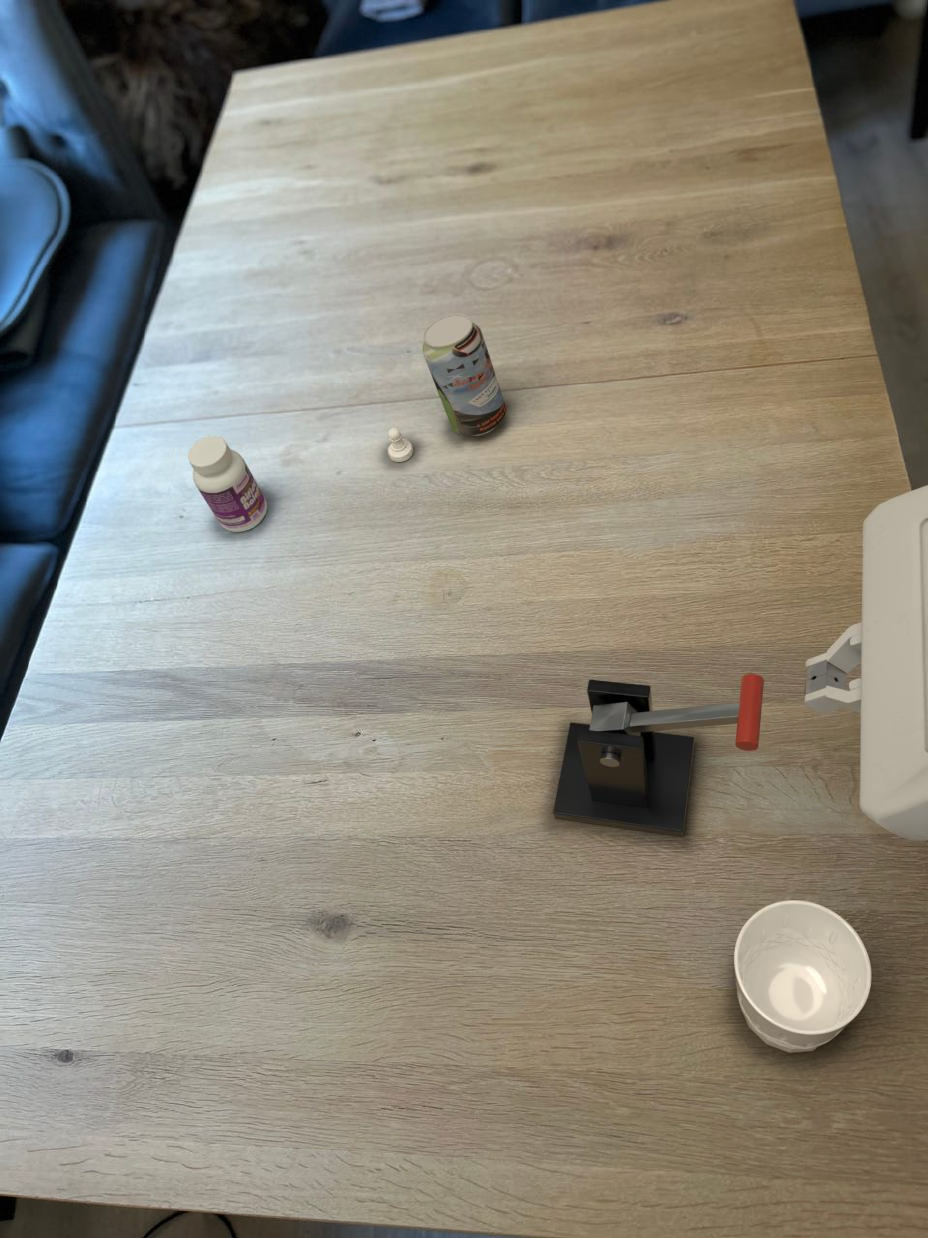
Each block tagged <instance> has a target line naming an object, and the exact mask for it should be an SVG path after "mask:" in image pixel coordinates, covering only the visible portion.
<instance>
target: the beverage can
mask: <svg viewBox="0 0 928 1238" xmlns="http://www.w3.org/2000/svg"><path fill="white" fill-rule="evenodd" d="M422 354H423V358H424V360H425V362H426V365H427V368H428V370H429V373H430V375H431V378H432V380H433V383H434V385H435V388H436V391H437V393H438V396H439V399H440V402H441V404H442V407H443V409H444V411H445V414H446V416H447V420H448V422H449V425H450V427H451V429H452V430H453V431H454V432H455V433H456V434H458V435H462V436H466V437H478V436H479V437H480V436H484V435H486V434H488V433H490V432H492V431H493V430H495V429H496V428H497V427H498V426H499V425H500V424H501V423H502V422H503V420H504V419H505V417H506V414H507V410H508V409H507V404H506V402H505V399H504V395H503V392H502V390H501V387H500V383H499V380H498V377H497V374H496V371H495V368H494V365H493V361H492V359H491V356H490V353H489V350H488V347H487V344H486V341H485V338H484V335H483V332H482V330H481V328H480V327H479V325H477V324H476V323H474V322H473V320H472V319H471V318H470V317H469V316H468V315H465V314H461V313H460V314H458V313H457V314H449V315H446V316H443V317H440V318H439V319H437V320H434V321H433V322H432V323H431V324H429V326H428V327H427V328H426V329H425V331H424V334H423V343H422Z"/></svg>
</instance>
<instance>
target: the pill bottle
mask: <svg viewBox="0 0 928 1238" xmlns="http://www.w3.org/2000/svg"><path fill="white" fill-rule="evenodd" d="M187 460H188V463H189V464H190V466H191V468H192V469H193V471H192V480H193V482H194V485H195V487H196V488H197V490H198V492H199V493H200V494H201V497H202V498H203V499H204V501H205V502H206V504H207V506H208V507H209V508H210V510H211V512H212V514H213V515H214V516H215V518H216V520H217V521H218V523H219V524H220V525H221V527H222V528H224V529H225V530H227V531H229V532H233V533H241V532H246V531H250V530H252V529H253V528H255V527H256V526H258V524H260V522H261V521H262V520H263V519H264V518H265V516H266V514H267V511H268V501H267V499H266V496H265V495H264V492H263V491H262V490H261V488H260V485H259V484H258V482H257V480H256V478H255V477H254V475H253V473H252V471H251V470H250V469H249V466H248V464H247V463H246V461H245V459H244V457H243V456H242V455H241V454H240V453H239V452H238V451H236V450H234V449H231V448H230V446H229V445H228V444H227V442H226V441H225V439H224V438H222V437H220V436H217V435H209V436H205V437H201V439H199V440H197V441H196V442H195V443H193V444H192V446H191V447H190V448H189V450H188V453H187Z"/></svg>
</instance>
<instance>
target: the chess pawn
mask: <svg viewBox="0 0 928 1238" xmlns="http://www.w3.org/2000/svg"><path fill="white" fill-rule="evenodd" d="M387 436H388V438H389V441H390V442H391V444H389V446H388V447H387V454H388V456H389V458H390V460H391V461H393V462H395V463H403V462H406V461H407V460H409V459H410V458H411V457H412V456H413V454H414V448H413V445H412V443H411V442H410V441H409V440H408V439H406V438H405V439H404V438H402V433H401V431H400V429H399V428H398V427H392V428H390V429H389V430H388V432H387Z"/></svg>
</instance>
